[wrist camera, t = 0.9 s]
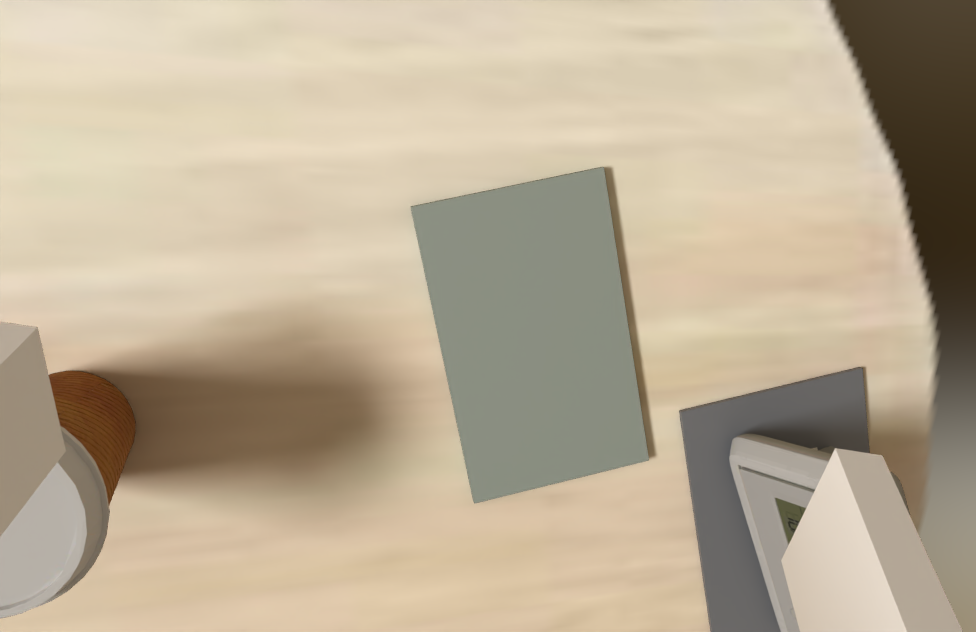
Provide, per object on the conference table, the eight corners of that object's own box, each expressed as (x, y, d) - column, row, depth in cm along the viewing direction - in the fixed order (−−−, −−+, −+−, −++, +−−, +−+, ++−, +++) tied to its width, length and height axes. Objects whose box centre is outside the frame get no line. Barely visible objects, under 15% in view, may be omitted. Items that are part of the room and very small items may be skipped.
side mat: (646, 457, 50) (648, 460, 50) (473, 500, 49) (474, 503, 49) (601, 167, 46) (603, 167, 46) (410, 206, 45) (411, 207, 44)
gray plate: (881, 627, 56) (884, 629, 55) (716, 673, 54) (718, 676, 54) (859, 366, 51) (862, 368, 51) (679, 410, 50) (681, 412, 50)
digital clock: (718, 422, 50) (810, 496, 40) (854, 395, 51) (977, 460, 41) (737, 650, 54) (826, 771, 44) (863, 620, 55) (979, 732, 45)
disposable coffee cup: (172, 351, 45) (106, 426, 33) (159, 512, 46) (92, 636, 35) (-16, 331, 43) (-156, 403, 31) (-22, 499, 45) (-157, 625, 33)
